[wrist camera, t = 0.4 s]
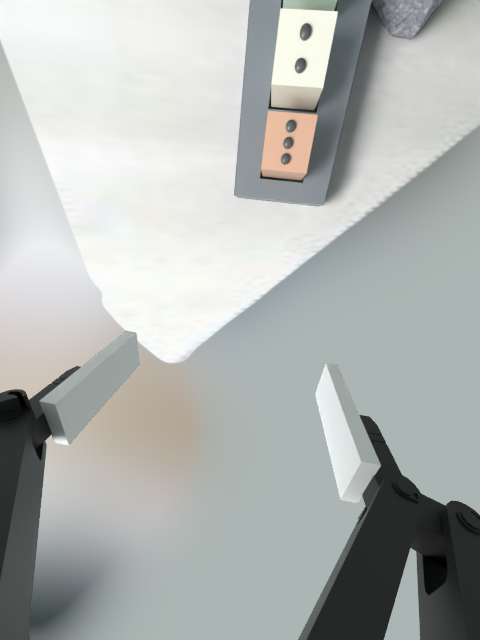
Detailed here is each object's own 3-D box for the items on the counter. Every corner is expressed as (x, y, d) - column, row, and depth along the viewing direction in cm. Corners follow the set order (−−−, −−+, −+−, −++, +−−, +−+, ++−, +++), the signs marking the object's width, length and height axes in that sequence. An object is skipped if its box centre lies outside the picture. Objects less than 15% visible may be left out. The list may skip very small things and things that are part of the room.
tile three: (268, 128, 28) (268, 109, 23) (310, 131, 27) (318, 113, 22) (262, 176, 30) (260, 168, 25) (301, 180, 29) (306, 173, 25)
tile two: (278, 46, 25) (280, 6, 20) (325, 49, 24) (338, 9, 20) (271, 106, 27) (271, 83, 22) (314, 110, 26) (323, 87, 22)
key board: (260, -53, 25) (258, -106, 20) (374, -49, 24) (395, -104, 20) (238, 197, 35) (234, 195, 31) (317, 206, 34) (324, 204, 30)
